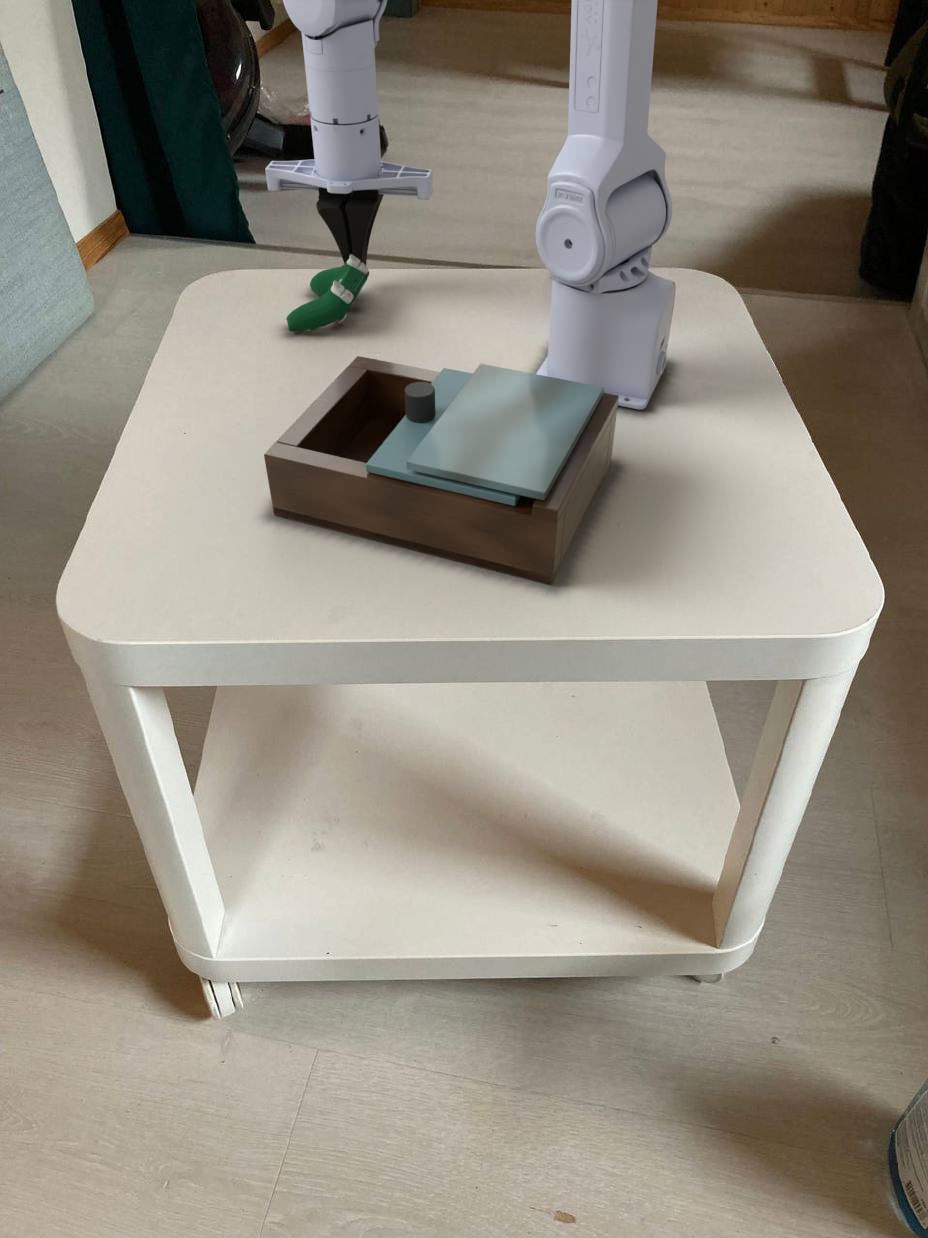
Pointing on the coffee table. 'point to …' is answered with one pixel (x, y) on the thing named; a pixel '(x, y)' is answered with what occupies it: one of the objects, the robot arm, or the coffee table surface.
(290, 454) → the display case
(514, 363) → the coffee table surface
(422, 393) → the sliding lid with knob
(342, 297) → the green and white boots
